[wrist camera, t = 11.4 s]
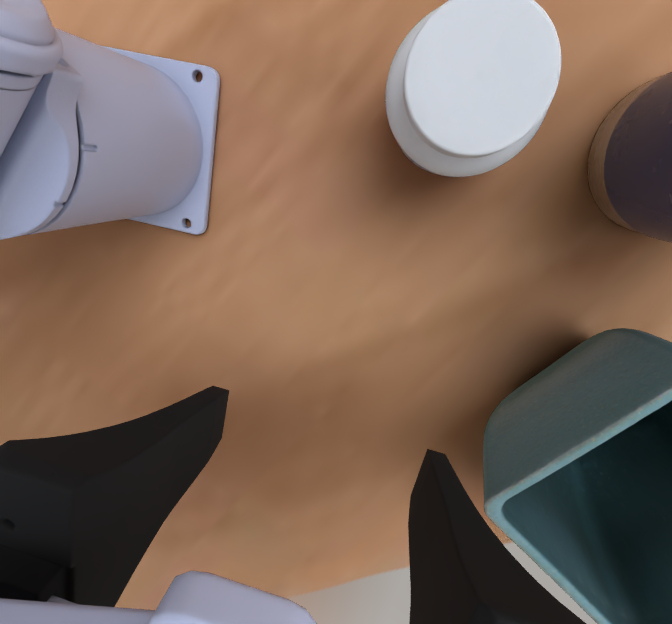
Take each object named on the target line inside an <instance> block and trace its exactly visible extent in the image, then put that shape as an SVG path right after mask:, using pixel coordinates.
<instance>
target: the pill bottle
mask: <svg viewBox="0 0 672 624" xmlns="http://www.w3.org/2000/svg"><path fill="white" fill-rule="evenodd" d="M560 71H561V48H560V43H559V39H558V36H557V32H556V29H555V27H554V25H553V23H552V21H551V19H550V18H549V16H548V15H547V13H546V12H545V11H544V9H543V8H542V7H541V6H540V5H539V4H538V3H536V2H535V1H534V0H449V1H447V2H446V3H444V4H443V5H442V6H440V7H438V8H437V9H435V10H433V11H432V12H431V13H429V14H428V15H427V16H425V17H424V18H423V19H422V20H421V21H419V22H418V23H417V24H416V25H415V26H414V28H413V29H412V30H411V31H410V32H409V33H408V35H407V36H406V37H405V39H404V40H403V42H402V43H401V45H400V46H399V48H398V50H397V52H396V54H395V56H394V59H393V61H392V63H391V67H390V70H389V74H388V78H387V84H386V94H385V100H386V101H385V103H386V111H387V117H388V121H389V125H390V128H391V131H392V133H393V135H394V137H395V140H396V141H397V142H398V144H399V146H400V148H401V150H402V151H403V153H404V154H405V156H406V157H407V158H408V159H409V160H410V161H411V162H413V163H414V164H415V165H417V166H418V167H420V168H421V169H424V170H426V171H428V172H431V173H435V174H438V175H443V176H447V177H468V176H474V175H479V174H482V173H485V172H488V171H491V170H493V169H495V168H497V167H499V166H501V165H503V164H504V163H506V162H507V161H509V160H510V159H512V158H513V157H514V156H516V155H517V154H518V153H519V152H520V151H521V150H522V149H523V148H524V147H525V146H526V145H527V144H528V143H529V142H530V140H531V139H532V138H533V137H534V135H535V134H536V132H537V131H538V129H539V127H540V126H541V124H542V122H543V120H544V118H545V116H546V113H547V111H548V108H549V105H550V104H551V101H552V99H553V97H554V95H555V92H556V89H557V86H558V82H559V78H560Z"/></svg>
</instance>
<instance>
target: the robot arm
mask: <svg viewBox="0 0 672 624" xmlns="http://www.w3.org/2000/svg"><path fill="white" fill-rule="evenodd" d="M198 72H201V73H202V76H203V77H202V80H201V81H200V82H197V80H196V75H197V73H198ZM219 91H220V76H219V73H218V72H217V71H216V70H215V69H213V68H211V67H209V66H204V65H199V64H194V63H189V62H184V61H178V60H173V59H168V58H163V57H157V56H152V55H147V54H142V53H137V52H131V51H126V50H121V49H116V48H111V47H105V46H100V45H97V44H95V43H92V42H90V41H87V40H85V39H82V38H80V37H77V36H75V35H72V34H70V33H67V32H65V31H62V30H60V29H57V28H55V27H53V25H52V23H51V20H50V18H49V15H48V13H47V11H46V8H45V7H44V5H43V3H42V2H41V0H0V240H2V239H6V238H12V237H18V236H24V235H30V234H36V233H42V232H48V231H54V230H60V229H66V228H72V227H78V226H84V225H90V224H96V223H103V222H109V221H115V220H121V219H130V220H135V221H139V222H143V223H148V224H152V225H156V226H160V227H165V228H169V229H173V230H178V231H182V232H186V233H190V234H195V235H199V234H202V233H204V232H205V231H206V229H207V223H208V212H209V201H210V190H211V179H212V168H213V157H214V146H215V135H216V124H217V113H218V102H219ZM186 219H189V220H190V221H191V226H190V227H188V226H187V225H186V222H185V221H186ZM228 395H229V390H226V389H223V388H219V387H216V386H212V387H209V388H207V389H205V390H203V391H201V392H198V393H196V394H194V395H192V396H190V397H188V398H186V399H184V400H181V401H179V402H177V403H175V404H173V405H170V406H168V407H166V408H163V409H161V410H158V411H156V412H153V413H151V414H148V415H146V416H143V417H140V418H137V419H134V420H131V421H128V422H124V423H121V424H118V425H114V426H110V427H106V428H101V429H97V430H92V431H88V432H83V433H77V434H71V435H65V436H58V437H50V438H39V439H26V440H10V441H7V442H6V443H4V444H3V445H1V446H0V624H317V623H316V622H315V621H314V619H313V618H312V617H311V615H310V614H309V613H308V611H307V610H306V609H305V608H303V607H302V606H300V605H298V604H296V603H295V602H293V601H291V600H289V599H286V598H283V597H280V596H277V595H274V594H271V593H268V592H265V591H262V590H259V589H256V588H253V587H250V586H247V585H244V584H241V583H238V582H236V581H233V580H230V579H227V578H224V577H221V576H218V575H215V574H212V573H207V572H199V571H189V572H186V573H184V574H181V575H178V576H176V577H175V578H174V580H173V582H172V583H171V585H170V587H169V588H168V590H167V592H166V594H165V595H164V597H163V599H162V600H161V602H160V604H159V606H158V607H157V609H156V610H144V609H131V608H118V607H115V605H116V603H117V601H118V599H119V598H120V596H121V594H122V592H123V590H124V589H125V587H126V585H127V583H128V581H129V580H130V578H131V576H132V574H133V573H134V571H135V569H136V567H137V566H138V564H139V562H140V560H141V559H142V557H143V555H144V554H145V552H146V550H147V548H148V547H149V545H150V543H151V542H152V540H153V539H154V537H155V535H156V534H157V532H158V530H159V529H160V527H161V525H162V524H163V522H164V521H165V519H166V518H167V516H168V515H169V513H170V512H171V511H172V509H173V508H174V507H175V505H176V504H177V503H178V501H179V500H180V499H181V497H182V496H183V495H184V493H185V492H186V491H187V489H188V488H189V487H190V485H191V484H192V483H193V481H194V480H195V479H196V477H197V476H198V475H199V473H200V472H201V471H202V469H203V468H204V467H205V465H206V464H207V463H208V461H209V460H210V458H211V456H212V454H213V453H214V451H215V449H216V447H217V446H218V444H219V442H220V440H221V438H222V433H223V427H224V420H225V414H226V408H227V401H228ZM408 528H409V556H410V580H411V607H410V624H586V623H585V622H583V621H582V620H581V619H580V618H579V617H577V616H576V615H575V614H574V613H572V612H571V611H570V610H569V609H568V608H566V607H565V606H564V605H563V604H561V603H560V602H559V601H558V600H557V599H556V598H554V597H553V596H552V595H551V594H550V593H549V592H548V591H547V590H546V589H545V588H543V587H542V586H541V585H540V584H539V583H538V582H537V581H536V580H535V579H534V578H533V577H532V576H531V575H530V574H529V573H528V572H527V571H526V570H525V569H524V568H523V567H522V566H521V564H520V563H519V562H518V561H517V560H515V558H514V557H513V556H512V555H511V553H510V552H509V551H508V550H507V549H506V548H505V547H504V545H503V544H502V543H501V542H500V540H499V539H498V538H497V537H496V535H495V534H494V533H493V532H492V530H491V529H490V528H489V526H488V525H487V523H486V522H485V521H484V519H483V518H482V516H481V515H480V513H479V512H478V510H477V509H476V507H475V506H474V504H473V503H472V501H471V499H470V498H469V496H468V494H467V493H466V491H465V489H464V488H463V486H462V484H461V482H460V480H459V479H458V477H457V475H456V473H455V471H454V469H453V468H452V466H451V464H450V462H449V460H448V458H447V457H446V455H445V454H443V453H440V452H436V451H433V450H429V449H427V452H426V455H425V457H424V460H423V463H422V466H421V468H420V471H419V474H418V477H417V480H416V482H415V485H414V488H413V491H412V494H411V499H410V509H409V522H408Z"/></svg>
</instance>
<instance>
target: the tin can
mask: <svg viewBox="0 0 672 624" xmlns="http://www.w3.org/2000/svg"><path fill="white" fill-rule="evenodd" d="M587 173H588V182H589V186H590V190H591V193H592V195H593V198H594V200H595V202H596V203H597V205H598V207H599V208H600V209H601V210H602V212H603V213H604V214H605V215H606V216H607V217H608V218H610V219H611V220H612V221H613V222H615V223H617V224H618V225H620V226H622V227H624V228H627V229H629V230H633V231H636V232H640V233H642V234H645V235H647V236H649V237H653V238H656V239H660V240H663V241H667V242H670V243H672V72H670V73H668V74H666V75H663V76H660V77H658V78H656V79H653V80H651V81H649V82H647V83H645V84H643V85H641V86H640V87H638V88H637V89H635V90H634V91H632V92H631V93H629V94H628V95H627V96H626V97H625V98H623V99H622V100H621V101H620V102H619V103H618V104H617V105H616V106H615V107H614V108H613V109H612V110H611V111H610V113H609V114H608V115H607V117H606V118H605V119H604V121H603V122H602V124H601V126H600V128H599V129H598V131H597V133H596V135H595V138H594V140H593V143H592V146H591V149H590V153H589V159H588V172H587Z"/></svg>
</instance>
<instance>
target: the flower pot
mask: <svg viewBox="0 0 672 624" xmlns="http://www.w3.org/2000/svg"><path fill="white" fill-rule="evenodd" d="M483 476H484V510H485V513H486V515H487V516H488V517H489V518H490V520H491V521H492V522H493V523H494V524H495V525H496V526H497V527H498V528H500V529H501V530H502V531H503V532H504V533H505V534H506V535H507V536H508V537H509V538H510V539H511V540H512V541H513V542H514V543H515V544H517V546H518V547H519V548H520V549H522V550H523V551H524V552H525V553H526V554H527V555H528V556H529V557H530V558H531V559H532V560H533V561H534V562H535V563H536V564H537V565H538V566H539V567H540V568H541V569H542V570H543V571H544V572H545V573H546V574H547V575H549V576H550V577H551V578H552V579H553V580H554V581H555V582H556V583H557V584H558V585H559V586H560V587H561V588H562V589H563V590H564V591H565V592H566V593H567V594H568V595H569V596H570V597H571V598H572V599H573V600H574V601H575V602H576V603H577V604H578V605H579V606H580V607H581V608H582V609H583V610H584V611H585V612H586V613H587V614H588V615H589V616H590V617H591V618H592V619H593V620H594V621H595V622H596V623H598V624H672V343H671V342H669V341H667V340H664V339H662V338H659V337H657V336H654V335H652V334H649V333H646V332H643V331H639V330H634V329H625V328H621V329H611V330H607V331H604V332H601V333H598V334H596V335H594V336H592V337H591V338H589V339H587V340H585V341H583V342H582V343H581V344H579V345H578V346H576V347H575V348H574V349H572V350H571V351H569V352H568V353H567V354H565V355H564V356H562V357H561V358H560V359H558V360H557V361H555V362H554V363H553V364H551V365H550V366H548V367H547V368H545V369H544V370H543V371H541V372H540V373H538V374H537V375H535V376H534V377H533V378H531V379H530V380H528V381H527V382H525V383H524V384H522V385H521V386H520V387H518V388H517V389H515V390H514V391H513V392H512V393H511V394H509V395H508V396H507V397H506V398H505V399H504V400H503V401H502V402H501V403H500V404H499V405H498V406H497V407H496V408H495V410H494V411H493V413H492V414H491V416H490V418H489V420H488V422H487V425H486V428H485V432H484V442H483Z"/></svg>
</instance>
